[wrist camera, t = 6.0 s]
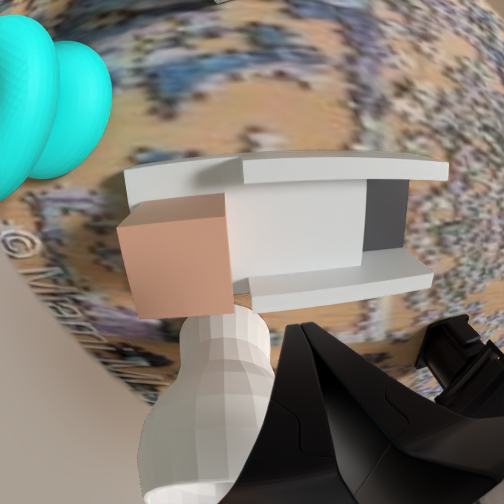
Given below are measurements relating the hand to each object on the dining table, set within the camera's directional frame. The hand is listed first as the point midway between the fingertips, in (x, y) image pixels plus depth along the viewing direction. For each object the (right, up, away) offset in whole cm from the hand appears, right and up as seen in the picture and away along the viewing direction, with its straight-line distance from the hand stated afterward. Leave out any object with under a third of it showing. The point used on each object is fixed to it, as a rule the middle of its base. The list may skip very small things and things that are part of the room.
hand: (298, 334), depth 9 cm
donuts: (-15, +13, +7) cm, 21 cm away
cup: (-4, -5, +16) cm, 17 cm away
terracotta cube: (-5, +4, +9) cm, 11 cm away
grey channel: (+1, +5, +12) cm, 13 cm away
